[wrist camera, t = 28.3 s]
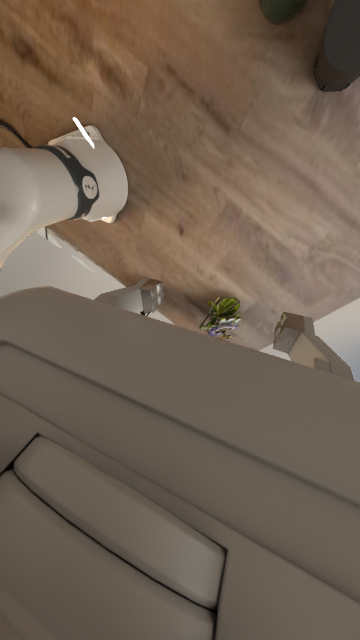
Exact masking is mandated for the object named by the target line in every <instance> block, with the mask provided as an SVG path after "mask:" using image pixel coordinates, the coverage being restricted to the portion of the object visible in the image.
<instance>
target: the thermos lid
mask: <svg viewBox="0 0 360 640" xmlns="http://www.w3.org/2000/svg"><path fill="white" fill-rule="evenodd" d="M313 69H314V71H313V73H314V76H315V78H316V80H317V83H318V85H319V88H320V90H322V89H323V88H324V89H323V92H327V91H342V90H343V89H344V88H345V89H346V88H347V87H348V86H349V85H350V84H351V83H353V82H354V81H355V80H356V79H357V78H358V77H359V76H360V0H336V2H335V4H334V6H333V8H332V10H331V13H330V16H329V19H328V22H327V25H326V28H325V31H324V35H323V38H322V41H321V44H320V48H319V51H318V54H317V58H316V61H315V64H314V68H313Z"/></svg>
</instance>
